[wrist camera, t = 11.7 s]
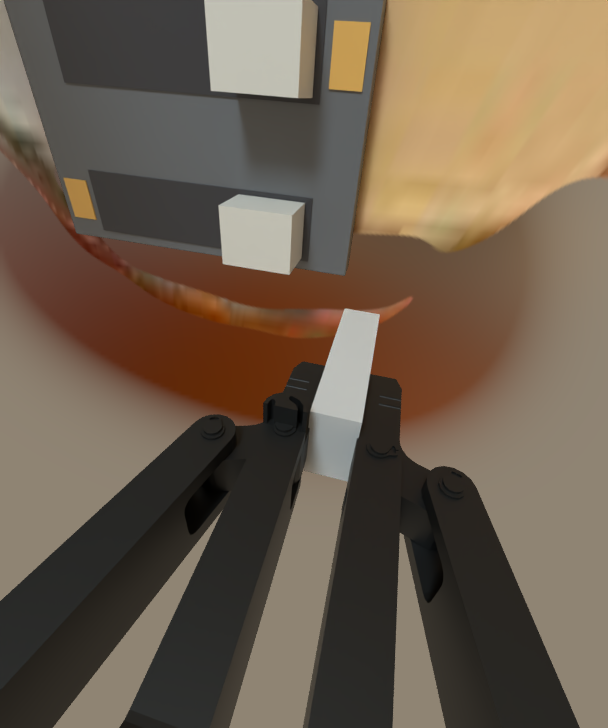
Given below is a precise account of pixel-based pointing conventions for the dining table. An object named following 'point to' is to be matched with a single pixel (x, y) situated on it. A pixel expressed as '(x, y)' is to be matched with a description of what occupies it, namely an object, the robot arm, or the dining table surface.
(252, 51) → the block
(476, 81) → the dining table surface
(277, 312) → the dining table surface
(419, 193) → the dining table surface
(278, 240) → the rear tab
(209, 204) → the switch panel
